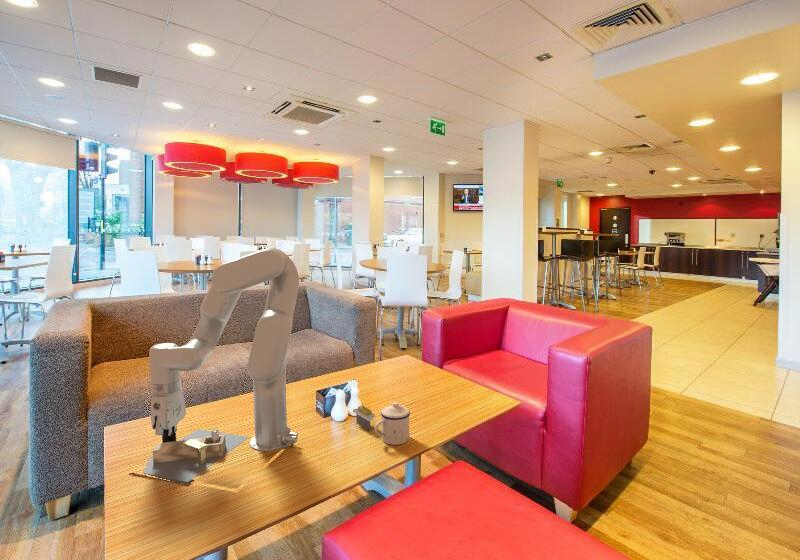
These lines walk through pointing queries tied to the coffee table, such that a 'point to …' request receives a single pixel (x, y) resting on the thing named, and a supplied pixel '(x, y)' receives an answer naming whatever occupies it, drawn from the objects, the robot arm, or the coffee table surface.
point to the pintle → (215, 436)
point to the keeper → (197, 449)
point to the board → (189, 460)
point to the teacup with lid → (394, 424)
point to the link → (187, 449)
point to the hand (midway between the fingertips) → (169, 446)
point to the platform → (364, 416)
